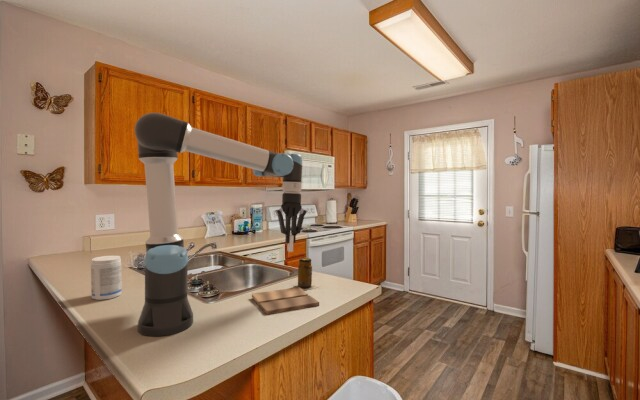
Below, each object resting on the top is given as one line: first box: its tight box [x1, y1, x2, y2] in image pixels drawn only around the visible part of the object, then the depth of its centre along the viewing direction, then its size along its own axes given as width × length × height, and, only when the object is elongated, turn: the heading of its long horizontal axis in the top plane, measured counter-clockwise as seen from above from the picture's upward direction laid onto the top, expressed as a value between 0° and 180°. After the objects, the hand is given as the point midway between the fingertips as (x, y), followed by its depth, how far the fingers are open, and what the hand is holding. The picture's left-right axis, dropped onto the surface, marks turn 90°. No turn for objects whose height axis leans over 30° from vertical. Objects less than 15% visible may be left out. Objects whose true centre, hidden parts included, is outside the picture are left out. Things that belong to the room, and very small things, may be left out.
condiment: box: [293, 257, 319, 291], centre depth 137 cm, size 7×8×12 cm
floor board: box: [258, 294, 320, 315], centre depth 114 cm, size 20×9×1 cm, turn 118°
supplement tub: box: [90, 255, 123, 301], centre depth 119 cm, size 10×10×15 cm
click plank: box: [251, 287, 309, 306], centre depth 122 cm, size 20×8×1 cm, turn 118°
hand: (290, 251), depth 127 cm, fingers closed
